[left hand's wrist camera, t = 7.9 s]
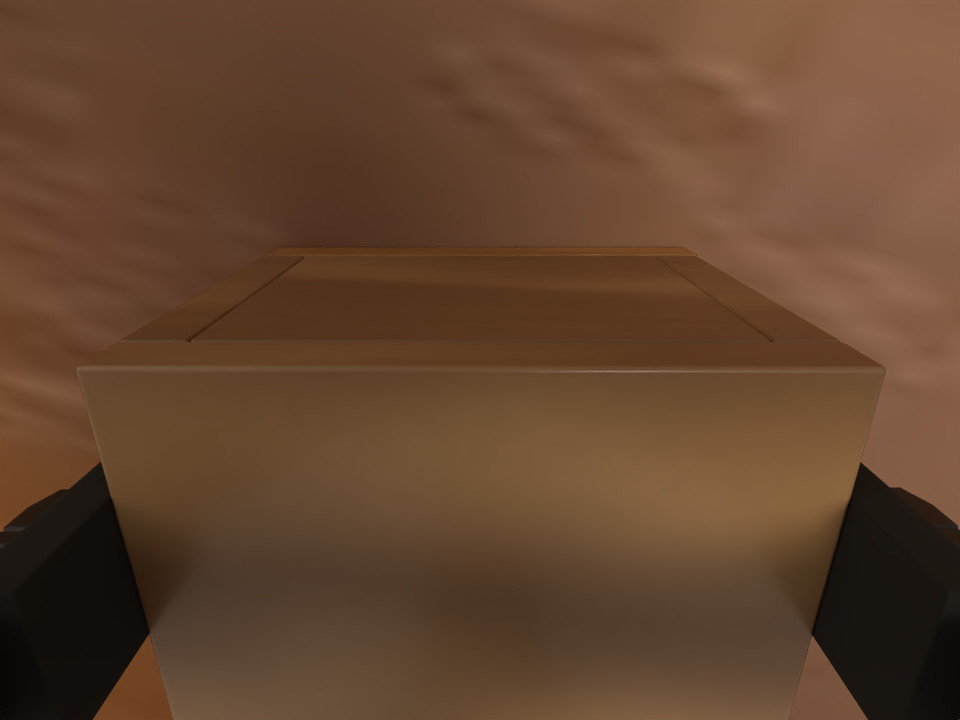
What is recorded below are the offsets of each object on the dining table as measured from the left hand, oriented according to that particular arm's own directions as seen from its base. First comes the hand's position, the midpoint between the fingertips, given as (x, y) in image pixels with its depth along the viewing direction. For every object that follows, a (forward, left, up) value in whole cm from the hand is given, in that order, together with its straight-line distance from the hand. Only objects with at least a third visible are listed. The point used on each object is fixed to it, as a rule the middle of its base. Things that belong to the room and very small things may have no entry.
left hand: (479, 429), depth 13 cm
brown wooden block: (+3, -6, -4) cm, 8 cm away
